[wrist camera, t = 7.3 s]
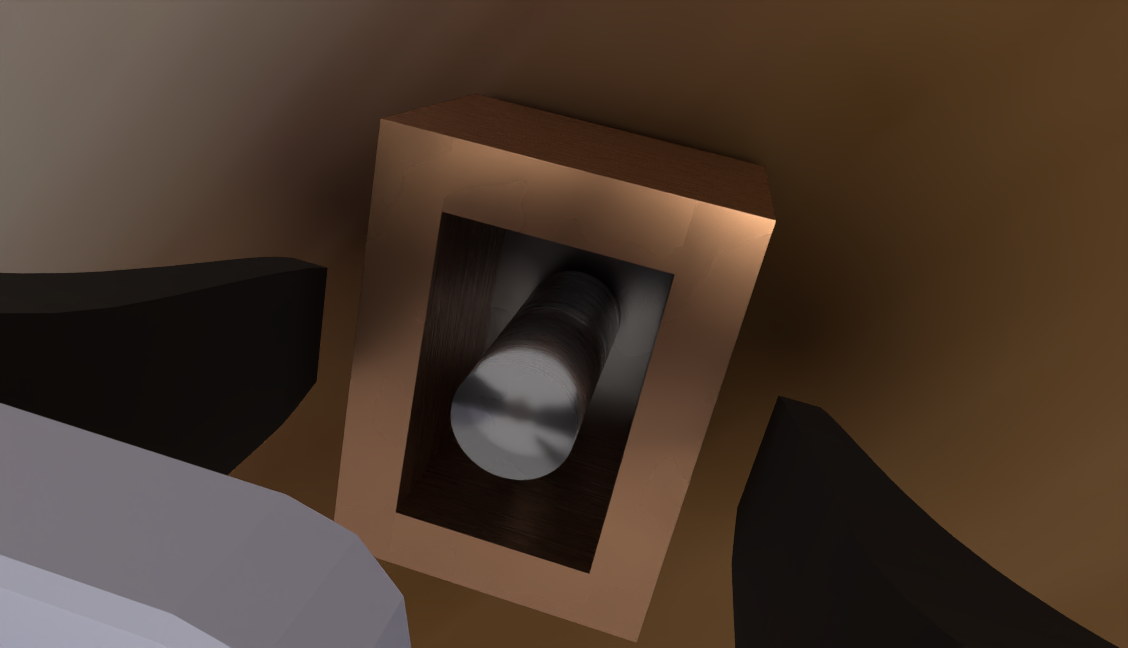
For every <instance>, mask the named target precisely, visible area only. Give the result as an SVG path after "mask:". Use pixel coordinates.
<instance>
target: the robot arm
mask: <svg viewBox="0 0 1128 648" xmlns="http://www.w3.org/2000/svg"><path fill="white" fill-rule="evenodd" d="M326 277H327V268H326V267H322V266H319V265H315V264H312V263H308V262H305V261H301V260H298V259H294V258H287V257H259V258H245V259H234V260H224V261H214V262H205V263H195V264H186V265H176V266H166V267H154V268H141V269H129V270H116V271H104V272H85V273H24V274H21V273H0V648H411V643H410V637H409V630H408V623H407V616H406V609H405V602H404V596H403V595H402V594H401V592H400V591H399V590H398V588H397V587H396V586H395V584H394V583H393V582H392V580H391V579H390V578H389V576H388V575H387V574H386V572H385V571H384V570H383V568H382V567H381V566H380V564H379V563H378V562H377V560H376V559H375V558H374V556H373V555H372V554H371V552H370V551H369V550H368V548H367V547H366V546H365V544H364V543H363V542H362V540H361V539H360V538H359V537H358V535H357V534H355V533H353V532H351V531H350V530H348V529H346V528H344V527H343V526H341V525H339V524H337V523H335V522H334V521H332V520H330V519H328V518H327V517H325V516H323V515H321V514H320V513H318V512H316V511H314V510H313V509H311V508H309V507H307V506H306V505H304V504H302V503H300V502H299V501H297V500H295V499H293V498H292V497H290V496H288V495H286V494H283V493H280V492H277V491H273V490H270V489H267V488H264V487H261V486H258V485H255V484H252V483H248V482H245V481H242V480H239V479H236V478H233V477H230V476H227V475H228V474H229V473H230V472H231V471H232V470H233V469H235V468H236V467H237V466H238V465H239V464H240V463H241V462H242V461H243V460H245V459H246V458H247V457H248V456H249V455H250V454H251V453H252V452H253V451H254V450H255V449H257V448H258V447H259V446H260V445H261V444H262V443H263V442H264V441H265V440H266V439H267V438H268V437H269V436H271V435H272V434H273V433H274V432H275V431H276V430H277V429H278V428H279V427H280V426H281V425H282V424H283V423H284V422H285V420H286V419H287V418H288V417H289V416H290V414H291V413H292V412H293V411H294V410H295V408H296V407H297V406H298V405H299V404H300V402H301V401H302V400H303V398H304V397H305V396H306V394H307V393H308V392H309V390H310V389H311V388H312V386H313V385H314V384H315V383H316V380H317V370H318V360H319V349H320V339H321V329H322V318H323V308H324V298H325V287H326ZM732 585H733V609H734V630H735V648H1119V647H1117V646H1115V645H1113V644H1112V643H1110V642H1108V641H1106V640H1104V639H1103V638H1101V637H1099V636H1098V635H1096V634H1094V633H1093V632H1091V631H1089V630H1088V629H1086V628H1084V627H1083V626H1081V625H1079V624H1078V623H1076V622H1074V621H1072V620H1071V619H1069V618H1068V617H1066V616H1064V615H1063V614H1061V613H1060V612H1058V611H1057V610H1055V609H1054V608H1052V607H1051V606H1049V605H1047V604H1046V603H1044V602H1043V601H1041V600H1040V599H1038V598H1037V597H1035V596H1034V595H1032V594H1031V593H1029V592H1028V591H1026V590H1025V589H1023V588H1022V587H1020V586H1019V585H1017V584H1016V583H1014V582H1013V581H1011V580H1010V579H1009V578H1007V577H1006V576H1004V575H1003V574H1001V573H1000V572H999V571H997V570H996V569H994V568H993V567H992V566H990V565H989V564H988V563H987V562H985V561H984V560H983V559H981V558H980V557H979V556H978V555H976V554H975V553H974V552H972V551H971V550H970V549H969V548H967V547H966V546H965V545H963V544H962V543H961V542H960V541H958V540H957V539H956V538H954V537H953V536H952V535H951V534H950V533H948V532H947V531H946V530H945V529H944V528H943V527H941V526H940V525H939V524H938V523H937V522H936V521H934V520H933V519H932V518H931V517H930V516H929V515H928V514H927V513H926V512H925V511H924V510H922V509H921V508H920V507H919V506H918V505H917V504H916V503H915V502H914V501H913V500H912V499H910V498H909V497H908V496H907V495H906V494H905V493H904V492H903V491H902V490H901V489H900V488H899V487H898V486H897V485H896V484H895V483H894V482H893V481H892V480H891V479H890V478H889V477H888V476H887V475H886V474H885V473H884V472H883V471H882V470H881V469H880V468H879V467H878V466H877V465H876V464H875V463H874V462H873V460H872V459H871V458H870V457H869V456H868V455H867V454H866V453H865V452H864V451H863V450H862V449H861V448H860V447H859V446H858V445H857V443H856V442H855V441H854V440H853V439H852V438H851V437H850V436H849V435H848V434H847V433H846V432H845V431H844V429H843V428H842V427H841V426H840V425H839V424H838V423H837V422H836V421H835V420H834V419H833V418H832V417H831V416H830V415H829V414H828V413H826V412H825V411H824V410H823V409H821V408H820V407H817V406H813V405H810V404H806V403H803V402H799V401H795V400H792V399H788V398H785V397H781V396H778V399H777V401H776V404H775V407H774V409H773V412H772V415H771V418H770V420H769V423H768V426H767V429H766V431H765V434H764V437H763V440H762V442H761V445H760V448H759V450H758V453H757V456H756V459H755V461H754V464H753V467H752V470H751V472H750V475H749V478H748V481H747V483H746V486H745V489H744V492H743V494H742V497H741V500H740V502H739V505H738V508H737V516H736V525H735V534H734V544H733V555H732Z"/></svg>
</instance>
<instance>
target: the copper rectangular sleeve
mask: <svg viewBox="0 0 1128 648" xmlns="http://www.w3.org/2000/svg"><path fill="white" fill-rule="evenodd" d="M775 222H776V219H775V213H774V208H773V203H772V198H771V193H770V187H769V182H768V177H767V172H766V167H765V166H761V165H757V164H753V163H749V162H745V161H741V160H737V159H733V158H729V157H726V156H722V155H718V154H714V153H710V152H706V151H702V150H698V149H694V148H690V147H686V146H682V145H678V144H674V143H670V142H666V141H662V140H658V139H654V138H650V137H646V136H642V135H638V134H634V133H630V132H626V131H622V130H618V129H614V128H610V127H606V126H602V125H598V124H594V123H590V122H586V121H582V120H578V119H574V118H570V117H566V116H562V115H558V114H554V113H550V112H546V111H542V110H538V109H534V108H530V107H526V106H522V105H518V104H514V103H510V102H506V101H502V100H498V99H494V98H490V97H487V96H483V95H479V94H473V95H469V96H465V97H461V98H457V99H454V100H450V101H446V102H442V103H438V104H434V105H431V106H427V107H423V108H419V109H415V110H411V111H408V112H404V113H400V114H396V115H392V116H388V117H385V118H381V120H380V129H379V138H378V146H377V155H376V163H375V172H374V181H373V189H372V198H371V207H370V215H369V224H368V232H367V241H366V250H365V258H364V267H363V275H362V284H361V293H360V301H359V310H358V318H357V327H356V336H355V344H354V353H353V361H352V370H351V379H350V387H349V396H348V405H347V413H346V422H345V430H344V439H343V448H342V456H341V465H340V473H339V482H338V491H337V499H336V508H335V516H334V522H335V523H337V524H339V525H341V526H343V527H344V528H346V529H348V530H350V531H351V532H353V533H355V534H357V535H358V537H359V538H360V539H361V540H362V542H363V543H364V544H365V546H366V547H367V548H368V550H369V551H370V552H371V554H372V555H373V556H374V557H376V558H379V559H382V560H385V561H388V562H391V563H394V564H397V565H400V566H403V567H406V568H409V569H413V570H416V571H419V572H422V573H425V574H428V575H431V576H434V577H437V578H440V579H443V580H446V581H449V582H452V583H456V584H459V585H462V586H465V587H468V588H471V589H474V590H477V591H480V592H483V593H486V594H489V595H492V596H495V597H499V598H502V599H505V600H508V601H511V602H514V603H517V604H520V605H523V606H526V607H529V608H532V609H535V610H538V611H542V612H545V613H548V614H551V615H554V616H557V617H560V618H563V619H566V620H569V621H572V622H575V623H578V624H581V625H585V626H588V627H591V628H594V629H597V630H600V631H603V632H606V633H609V634H612V635H615V636H618V637H621V638H624V639H628V640H631V641H634V642H637V639H638V636H639V633H640V630H641V627H642V624H643V621H644V618H645V615H646V612H647V609H648V606H649V603H650V600H651V597H652V594H653V591H654V588H655V585H656V582H657V579H658V576H659V573H660V570H661V567H662V564H663V560H664V557H665V554H666V551H667V548H668V545H669V542H670V539H671V536H672V533H673V530H674V527H675V524H676V521H677V518H678V515H679V512H680V509H681V506H682V503H683V500H684V497H685V494H686V491H687V488H688V485H689V482H690V479H691V476H692V473H693V470H694V467H695V464H696V461H697V458H698V455H699V452H700V449H701V446H702V443H703V440H704V436H705V433H706V430H707V427H708V424H709V421H710V418H711V415H712V412H713V409H714V406H715V403H716V400H717V397H718V394H719V391H720V388H721V385H722V382H723V379H724V376H725V373H726V370H727V367H728V364H729V361H730V358H731V355H732V352H733V349H734V346H735V343H736V340H737V337H738V334H739V331H740V328H741V325H742V322H743V319H744V316H745V312H746V309H747V306H748V303H749V300H750V297H751V294H752V291H753V288H754V285H755V282H756V279H757V276H758V273H759V270H760V267H761V264H762V261H763V258H764V255H765V252H766V249H767V246H768V243H769V240H770V237H771V234H772V231H773V228H774V225H775ZM506 229H509V230H512V231H516V232H520V233H523V234H527V235H531V236H535V237H538V238H542V239H546V240H549V241H553V242H557V243H560V244H564V245H568V246H572V247H575V248H579V249H583V250H586V251H590V252H594V253H597V254H601V255H605V256H609V257H612V258H616V259H620V260H623V261H627V262H631V263H634V264H638V265H642V266H646V267H649V268H653V269H657V270H660V271H664V272H668V273H672V274H673V276H672V280H671V283H670V287H669V290H668V294H667V297H666V301H665V304H664V308H663V311H662V315H661V318H660V322H659V325H658V329H657V332H656V336H655V339H654V343H653V346H652V350H651V353H650V357H649V360H648V364H647V368H646V371H645V375H644V378H643V382H642V385H641V389H640V392H639V396H638V399H637V403H636V406H635V410H634V413H633V417H632V420H631V424H630V427H629V431H628V434H627V438H626V441H625V445H624V446H623V445H620V444H616V443H613V442H610V441H606V440H603V439H599V438H596V437H593V436H589V435H586V434H583V433H579V432H578V434H577V437H576V439H575V442H574V444H573V447H572V449H571V451H570V453H569V455H568V457H567V458H566V460H565V461H564V462H563V463H562V464H561V465H560V466H559V467H558V468H557V469H555V470H554V471H552V472H551V473H549V474H547V475H544V476H542V477H539V478H535V479H528V480H514V479H507V478H503V477H500V476H497V475H494V474H492V473H490V472H488V471H486V470H484V469H483V468H481V467H480V466H478V465H477V464H476V463H475V462H473V461H472V460H471V459H470V458H469V457H468V456H467V455H466V453H465V452H464V451H463V450H462V448H461V447H460V445H459V443H458V441H457V439H456V437H455V435H454V432H453V429H452V424H451V405H452V401H453V398H454V396H455V393H456V391H457V390H458V388H459V386H460V385H461V384H462V382H463V381H464V380H465V378H466V377H467V376H468V375H469V373H470V372H471V371H472V369H473V368H474V367H475V366H476V364H477V363H478V362H479V360H480V359H481V358H482V355H483V350H484V345H485V339H486V334H487V329H488V323H489V318H490V313H491V308H492V302H493V297H494V292H495V286H496V281H497V276H498V271H499V265H500V260H501V255H502V250H503V244H504V239H505V234H506Z"/></svg>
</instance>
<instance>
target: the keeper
mask: <svg viewBox="0 0 1128 648" xmlns="http://www.w3.org/2000/svg"><path fill="white" fill-rule="evenodd" d="M672 276H673V274H672V273H668V272H664V271H660V270H657V269H653V268H649V267H646V266H642V265H638V264H634V263H631V262H627V261H623V260H620V259H616V258H612V257H609V256H605V255H601V254H597V253H594V252H590V251H586V250H583V249H579V248H575V247H572V246H568V245H564V244H560V243H557V242H553V241H549V240H546V239H542V238H538V237H535V236H531V235H527V234H523V233H520V232H516V231H512V230H509V229H506V234H505V239H504V244H503V250H502V255H501V260H500V265H499V271H498V276H497V281H496V286H495V292H494V297H493V302H492V308H491V313H490V318H489V323H488V329H487V334H486V339H485V345H484V350H483V355H482V358H481V359H480V360H479V362H478V363H477V364H476V366H475V367H474V368H473V369H472V371H471V372H470V373H469V375H468V376H467V377H466V378H465V380H464V381H463V382H462V384H461V385H460V386H459V388H458V390H457V391H456V393H455V396H454V398H453V401H452V405H451V424H452V429H453V432H454V435H455V437H456V439H457V441H458V443H459V445H460V447H461V448H462V450H463V451H464V452H465V453H466V455H467V456H468V457H469V458H470V459H471V460H472V461H473V462H475V463H476V464H477V465H478V466H480V467H481V468H483V469H484V470H486V471H488V472H490V473H492V474H494V475H497V476H500V477H503V478H507V479H514V480H528V479H535V478H539V477H542V476H544V475H547V474H549V473H551V472H552V471H554V470H555V469H557V468H558V467H559V466H560V465H561V464H562V463H563V462H564V461H565V460H566V458H567V457H568V455H569V453H570V451H571V449H572V447H573V444H574V442H575V439H576V437H577V434H578V432H579V433H583V434H586V435H589V436H593V437H596V438H599V439H603V440H606V441H610V442H613V443H616V444H620V445H623V446H624V445H625V441H626V438H627V434H628V431H629V427H630V424H631V420H632V417H633V413H634V410H635V406H636V403H637V399H638V396H639V392H640V389H641V385H642V382H643V378H644V375H645V371H646V368H647V364H648V360H649V357H650V353H651V350H652V346H653V343H654V339H655V336H656V332H657V329H658V325H659V322H660V318H661V315H662V311H663V308H664V304H665V301H666V297H667V294H668V290H669V287H670V283H671V280H672Z"/></svg>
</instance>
